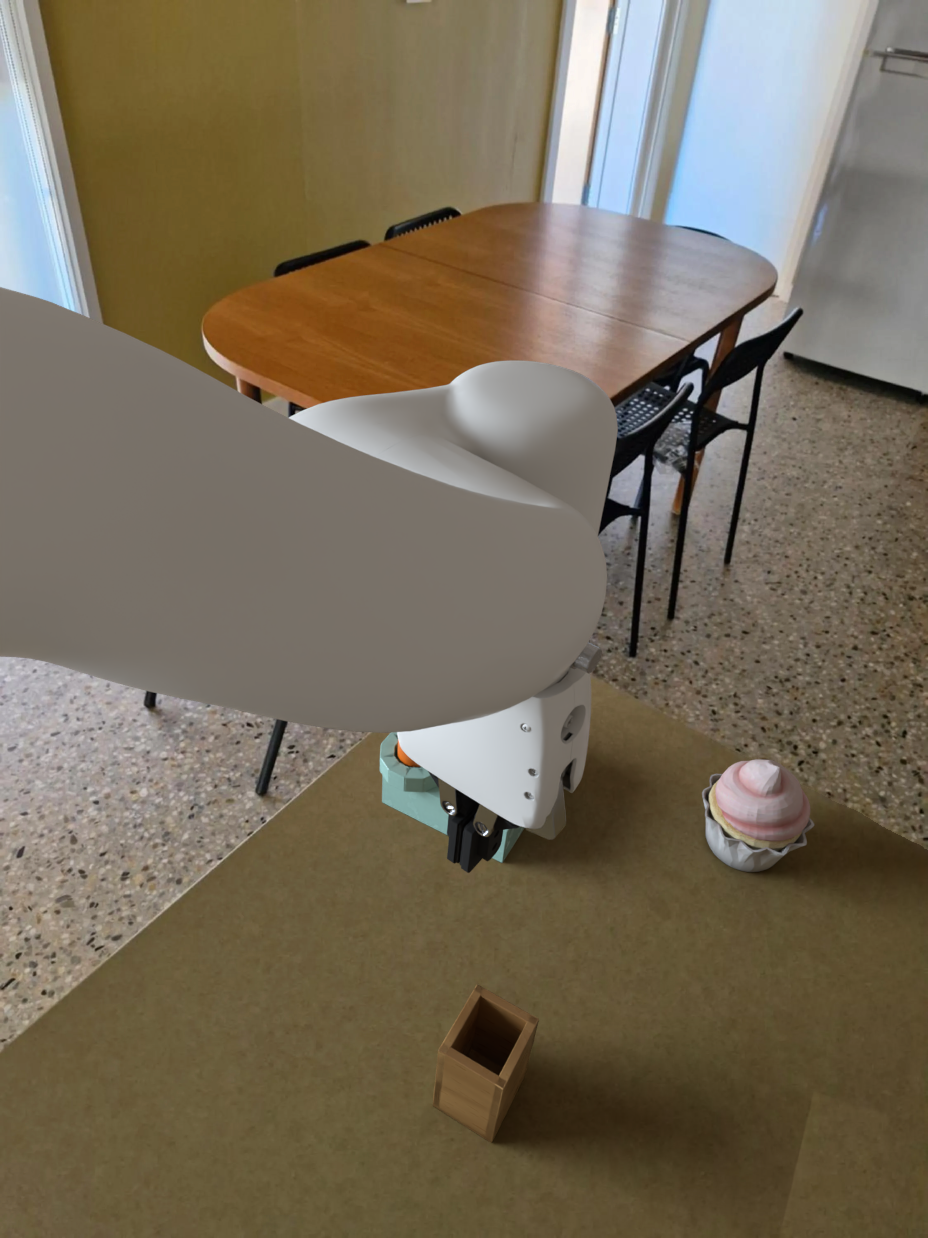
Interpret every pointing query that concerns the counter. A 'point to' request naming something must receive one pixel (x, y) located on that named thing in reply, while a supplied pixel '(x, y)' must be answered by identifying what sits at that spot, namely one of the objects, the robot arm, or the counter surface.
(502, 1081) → the open wooden box
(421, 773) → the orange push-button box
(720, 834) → the cupcake
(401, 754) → the button
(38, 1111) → the counter surface
